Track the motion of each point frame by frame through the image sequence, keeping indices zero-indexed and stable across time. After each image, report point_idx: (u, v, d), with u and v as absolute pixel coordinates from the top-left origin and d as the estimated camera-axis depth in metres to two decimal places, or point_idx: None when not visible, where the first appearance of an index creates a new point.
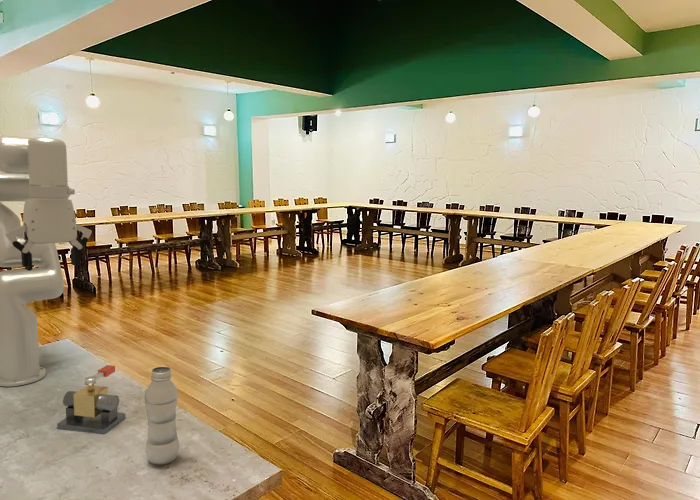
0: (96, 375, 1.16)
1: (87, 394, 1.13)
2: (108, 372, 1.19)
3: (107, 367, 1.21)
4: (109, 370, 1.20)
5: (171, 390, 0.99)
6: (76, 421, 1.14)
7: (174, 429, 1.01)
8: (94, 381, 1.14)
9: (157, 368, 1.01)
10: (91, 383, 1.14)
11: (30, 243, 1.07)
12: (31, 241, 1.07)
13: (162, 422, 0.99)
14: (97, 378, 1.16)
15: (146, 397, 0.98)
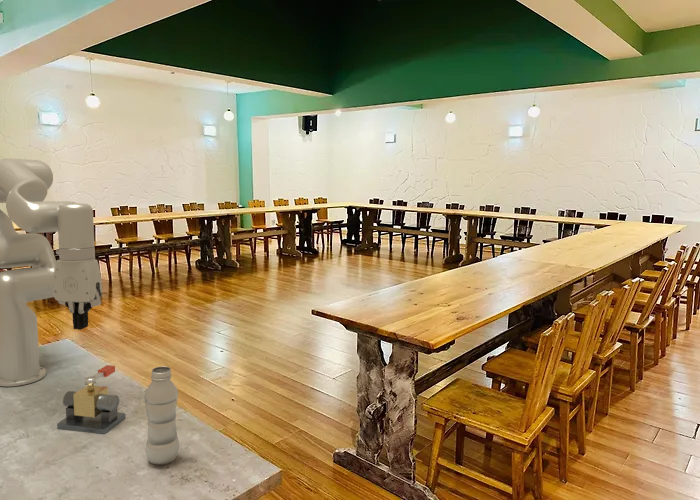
0: (96, 375, 1.16)
1: (87, 394, 1.13)
2: (108, 372, 1.19)
3: (107, 367, 1.21)
4: (109, 370, 1.20)
5: (171, 390, 0.99)
6: (76, 421, 1.14)
7: (174, 429, 1.01)
8: (94, 381, 1.14)
9: (157, 368, 1.01)
10: (91, 383, 1.14)
11: None
12: None
13: (162, 422, 0.99)
14: (97, 378, 1.16)
15: (146, 397, 0.98)
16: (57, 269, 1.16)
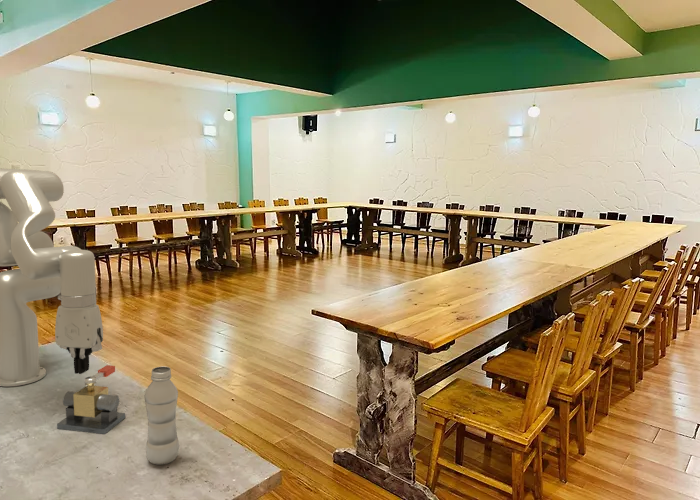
0: (96, 375, 1.16)
1: (87, 394, 1.13)
2: (108, 372, 1.19)
3: (107, 367, 1.21)
4: (109, 370, 1.20)
5: (171, 390, 0.99)
6: (76, 421, 1.14)
7: (174, 429, 1.01)
8: (94, 381, 1.14)
9: (157, 368, 1.01)
10: (91, 383, 1.14)
11: None
12: None
13: (162, 422, 0.99)
14: (97, 378, 1.16)
15: (146, 397, 0.98)
16: (59, 315, 1.17)
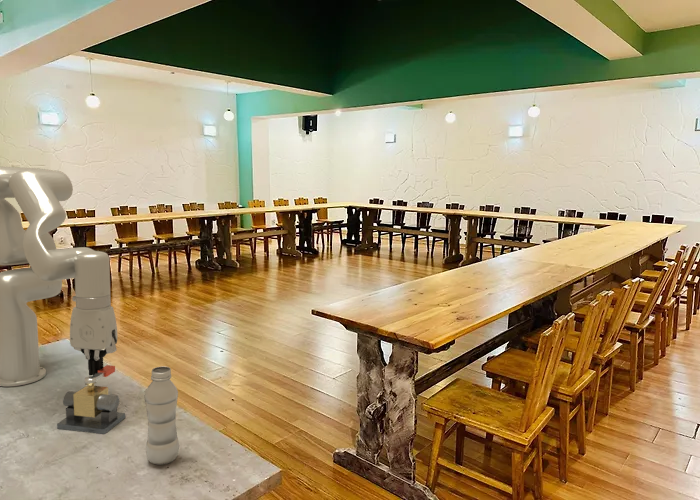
0: (96, 375, 1.16)
1: (87, 394, 1.13)
2: (108, 372, 1.19)
3: (107, 367, 1.21)
4: (109, 370, 1.20)
5: (171, 390, 0.99)
6: (76, 421, 1.14)
7: (174, 429, 1.01)
8: (94, 381, 1.14)
9: (157, 368, 1.01)
10: (91, 383, 1.14)
11: None
12: None
13: (162, 422, 0.99)
14: (97, 378, 1.16)
15: (146, 397, 0.98)
16: (73, 317, 1.17)
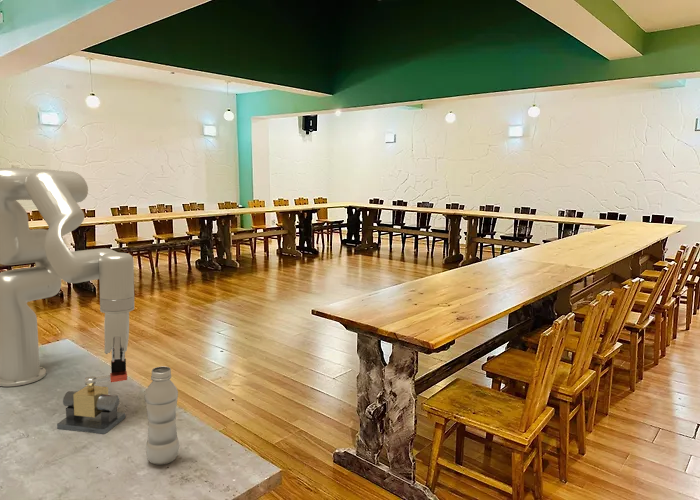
0: (100, 377, 1.15)
1: (87, 394, 1.13)
2: (114, 378, 1.16)
3: (120, 373, 1.18)
4: (116, 376, 1.16)
5: (171, 390, 0.99)
6: (76, 421, 1.14)
7: (174, 429, 1.01)
8: (89, 382, 1.13)
9: (157, 368, 1.01)
10: (86, 383, 1.13)
11: None
12: (125, 350, 1.16)
13: (162, 422, 0.99)
14: (97, 380, 1.15)
15: (146, 397, 0.98)
16: None
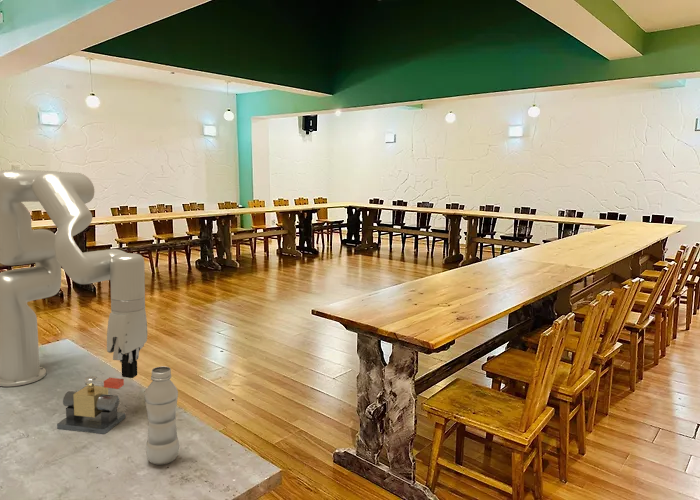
0: (98, 379, 1.14)
1: (87, 394, 1.13)
2: (107, 384, 1.13)
3: (115, 380, 1.14)
4: (108, 382, 1.13)
5: (171, 390, 0.99)
6: (76, 421, 1.14)
7: (174, 429, 1.01)
8: (86, 382, 1.13)
9: (157, 368, 1.01)
10: (85, 382, 1.14)
11: (130, 354, 1.17)
12: (124, 352, 1.14)
13: (162, 422, 0.99)
14: (94, 382, 1.14)
15: (146, 397, 0.98)
16: None
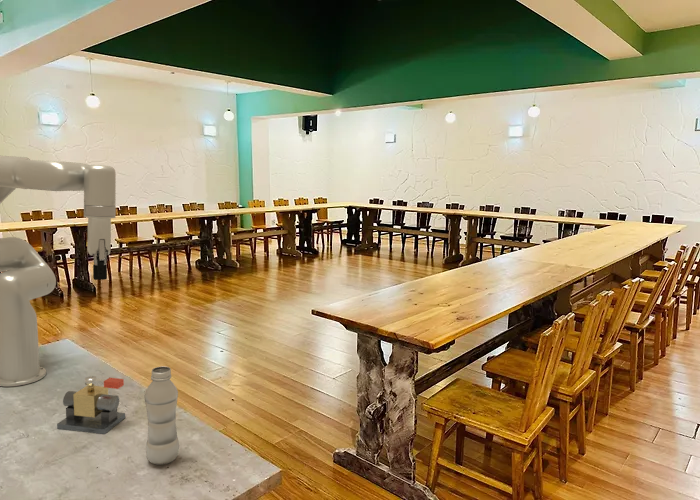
0: (98, 379, 1.14)
1: (87, 394, 1.13)
2: (107, 384, 1.13)
3: (115, 380, 1.14)
4: (108, 382, 1.13)
5: (171, 390, 0.99)
6: (76, 421, 1.14)
7: (174, 429, 1.01)
8: (86, 382, 1.13)
9: (157, 368, 1.01)
10: (85, 382, 1.14)
11: None
12: (109, 253, 1.28)
13: (162, 422, 0.99)
14: (94, 382, 1.14)
15: (146, 397, 0.98)
16: None
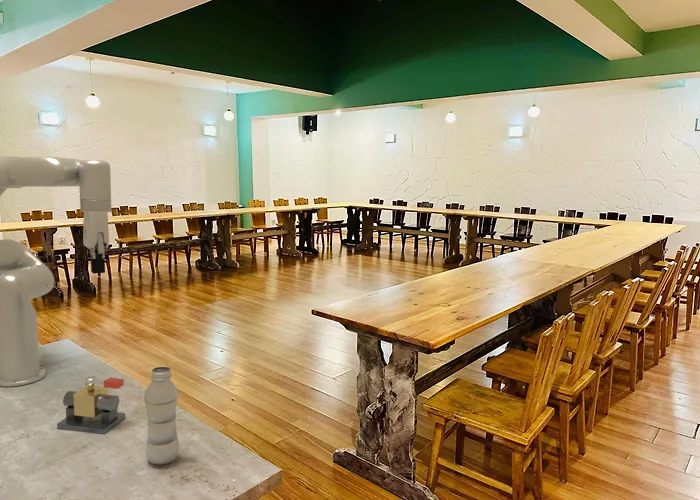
0: (98, 379, 1.14)
1: (87, 394, 1.13)
2: (107, 384, 1.13)
3: (115, 380, 1.14)
4: (108, 382, 1.13)
5: (171, 390, 0.99)
6: (76, 421, 1.14)
7: (174, 429, 1.01)
8: (86, 382, 1.13)
9: (157, 368, 1.01)
10: (85, 382, 1.14)
11: None
12: None
13: (162, 422, 0.99)
14: (94, 382, 1.14)
15: (146, 397, 0.98)
16: None
